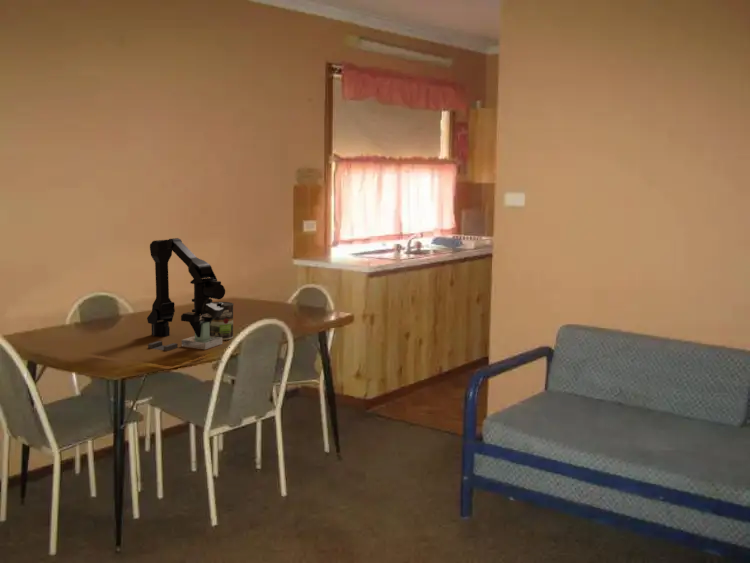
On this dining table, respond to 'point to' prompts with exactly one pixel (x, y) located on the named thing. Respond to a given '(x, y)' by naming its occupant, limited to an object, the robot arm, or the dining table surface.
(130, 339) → the dining table surface
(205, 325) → the plug
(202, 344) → the port
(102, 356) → the dining table surface
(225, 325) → the coffee can
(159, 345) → the dark grey bracket
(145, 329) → the dining table surface
